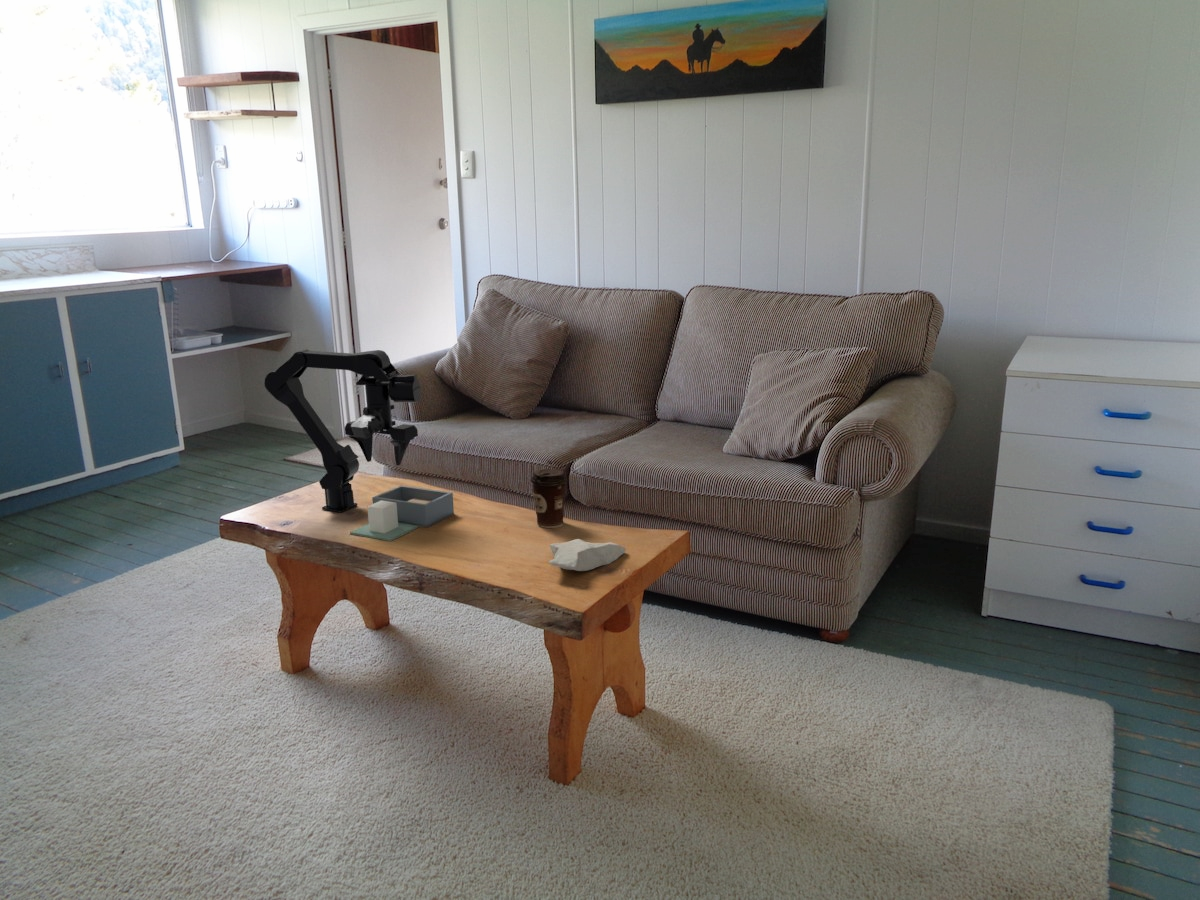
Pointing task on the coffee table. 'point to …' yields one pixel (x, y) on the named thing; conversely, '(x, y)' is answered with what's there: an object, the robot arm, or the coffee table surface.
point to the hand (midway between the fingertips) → (383, 463)
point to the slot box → (419, 504)
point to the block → (382, 516)
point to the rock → (584, 554)
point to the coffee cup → (549, 497)
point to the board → (387, 536)
